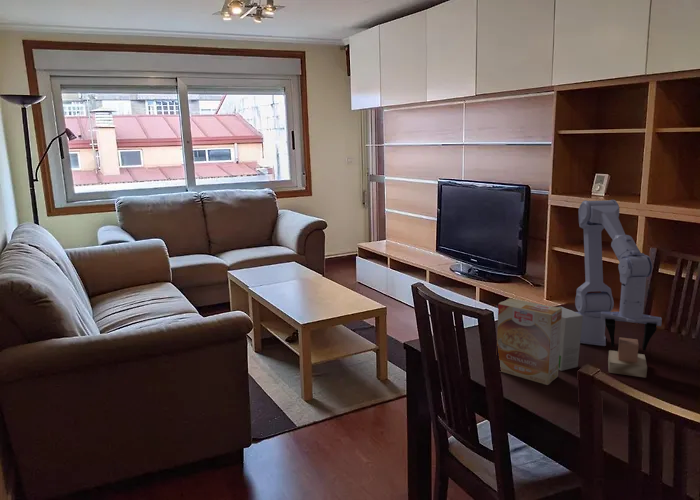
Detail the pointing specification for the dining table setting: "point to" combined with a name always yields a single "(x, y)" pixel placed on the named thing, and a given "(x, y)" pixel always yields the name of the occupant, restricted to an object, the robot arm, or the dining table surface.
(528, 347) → the coffeecake box
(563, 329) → the skincare box
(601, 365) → the dining table surface
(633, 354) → the terracotta block
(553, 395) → the dining table surface
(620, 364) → the beech slab
